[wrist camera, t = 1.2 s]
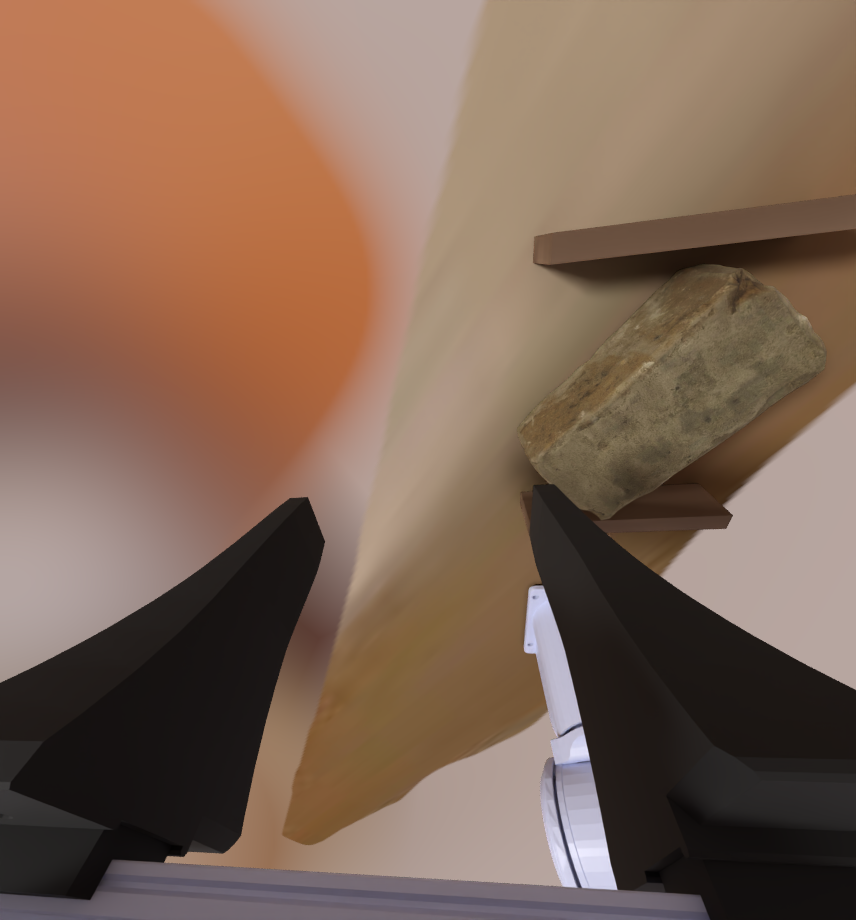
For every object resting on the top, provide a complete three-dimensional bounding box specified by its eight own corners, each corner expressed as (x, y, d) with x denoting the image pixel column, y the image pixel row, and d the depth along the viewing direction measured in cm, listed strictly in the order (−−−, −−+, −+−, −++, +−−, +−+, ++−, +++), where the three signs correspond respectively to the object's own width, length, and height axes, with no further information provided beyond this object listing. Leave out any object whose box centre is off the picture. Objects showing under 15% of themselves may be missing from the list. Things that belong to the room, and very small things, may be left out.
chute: (693, 495, 21) (726, 528, 19) (520, 503, 22) (529, 535, 20) (811, 201, 13) (896, 189, 11) (534, 236, 14) (552, 232, 12)
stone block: (751, 333, 16) (857, 361, 12) (569, 480, 22) (598, 536, 17) (682, 252, 15) (775, 252, 10) (503, 432, 20) (518, 481, 16)
